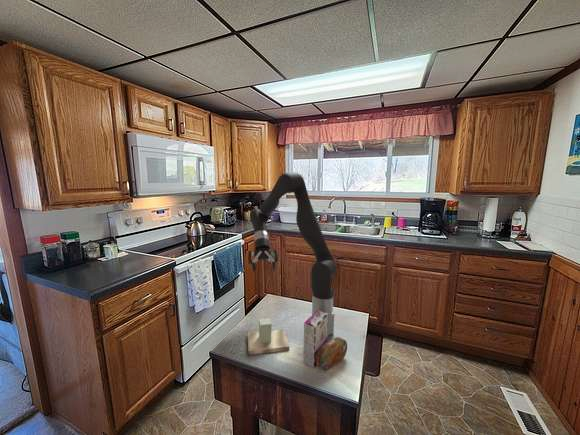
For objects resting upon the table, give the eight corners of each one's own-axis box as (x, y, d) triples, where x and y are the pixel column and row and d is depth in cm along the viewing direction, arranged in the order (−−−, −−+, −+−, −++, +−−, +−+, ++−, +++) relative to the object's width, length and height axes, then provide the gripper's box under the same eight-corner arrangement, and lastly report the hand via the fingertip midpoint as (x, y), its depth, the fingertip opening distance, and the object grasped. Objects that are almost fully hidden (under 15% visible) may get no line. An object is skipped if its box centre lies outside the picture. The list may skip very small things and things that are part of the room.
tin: (320, 375, 85) (321, 353, 84) (314, 370, 88) (315, 348, 87) (347, 357, 95) (348, 336, 94) (340, 352, 97) (341, 332, 96)
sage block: (269, 335, 105) (269, 318, 104) (271, 342, 101) (271, 323, 100) (258, 336, 104) (259, 319, 103) (260, 343, 99) (260, 325, 98)
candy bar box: (316, 347, 100) (317, 309, 98) (327, 352, 98) (329, 313, 96) (302, 363, 91) (303, 321, 89) (314, 369, 88) (315, 326, 86)
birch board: (283, 332, 110) (283, 329, 110) (289, 349, 98) (289, 346, 98) (247, 336, 107) (247, 333, 106) (248, 354, 95) (248, 351, 95)
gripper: (247, 237, 120) (249, 268, 110) (276, 237, 123) (280, 266, 113) (247, 245, 126) (248, 275, 116) (274, 244, 129) (278, 273, 119)
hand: (264, 270), depth 115 cm, fingers open, 8 cm apart
